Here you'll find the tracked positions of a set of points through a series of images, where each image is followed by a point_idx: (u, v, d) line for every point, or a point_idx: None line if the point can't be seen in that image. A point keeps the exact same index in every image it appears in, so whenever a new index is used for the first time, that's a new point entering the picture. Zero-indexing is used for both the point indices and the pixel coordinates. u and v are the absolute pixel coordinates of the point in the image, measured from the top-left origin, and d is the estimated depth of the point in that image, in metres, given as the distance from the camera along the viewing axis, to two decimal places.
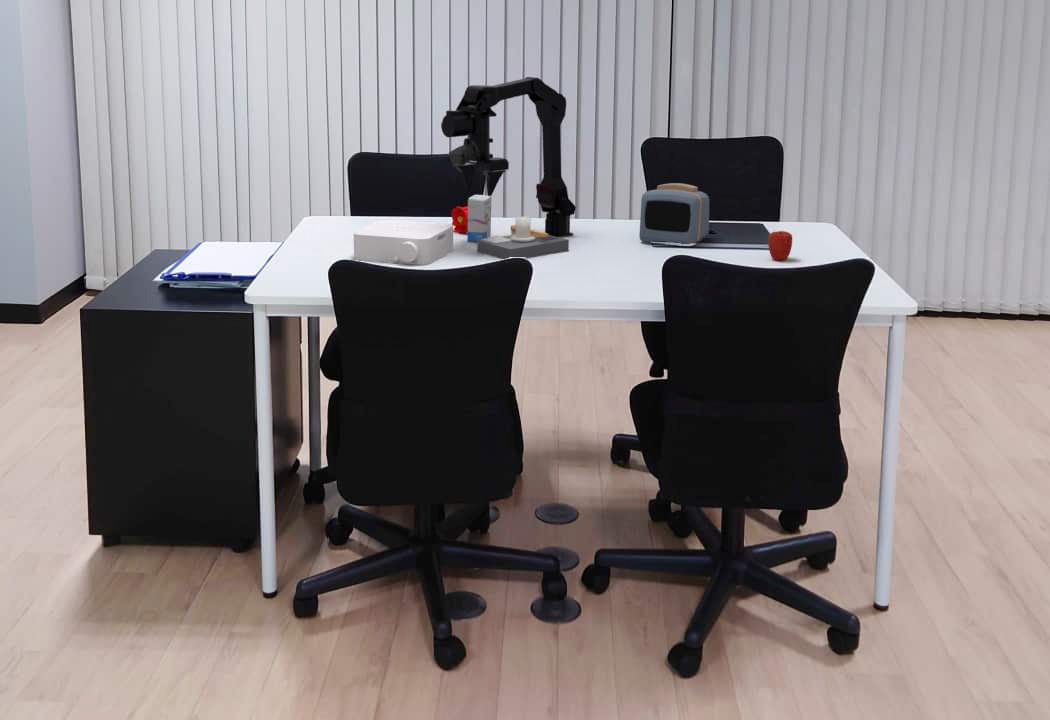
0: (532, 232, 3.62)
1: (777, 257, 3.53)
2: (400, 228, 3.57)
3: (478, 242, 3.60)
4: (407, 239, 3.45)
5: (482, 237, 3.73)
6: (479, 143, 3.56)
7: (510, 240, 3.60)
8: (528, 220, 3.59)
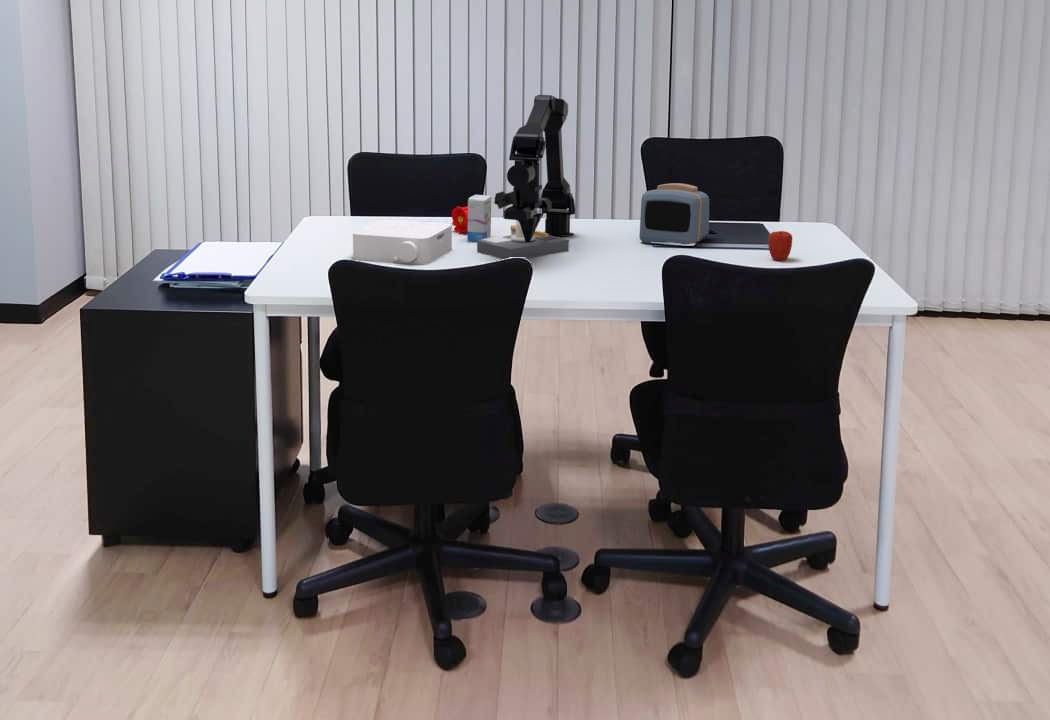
0: None
1: (777, 257, 3.53)
2: (399, 228, 3.58)
3: (478, 242, 3.60)
4: (407, 239, 3.46)
5: (482, 237, 3.73)
6: (518, 190, 3.46)
7: (510, 240, 3.60)
8: None
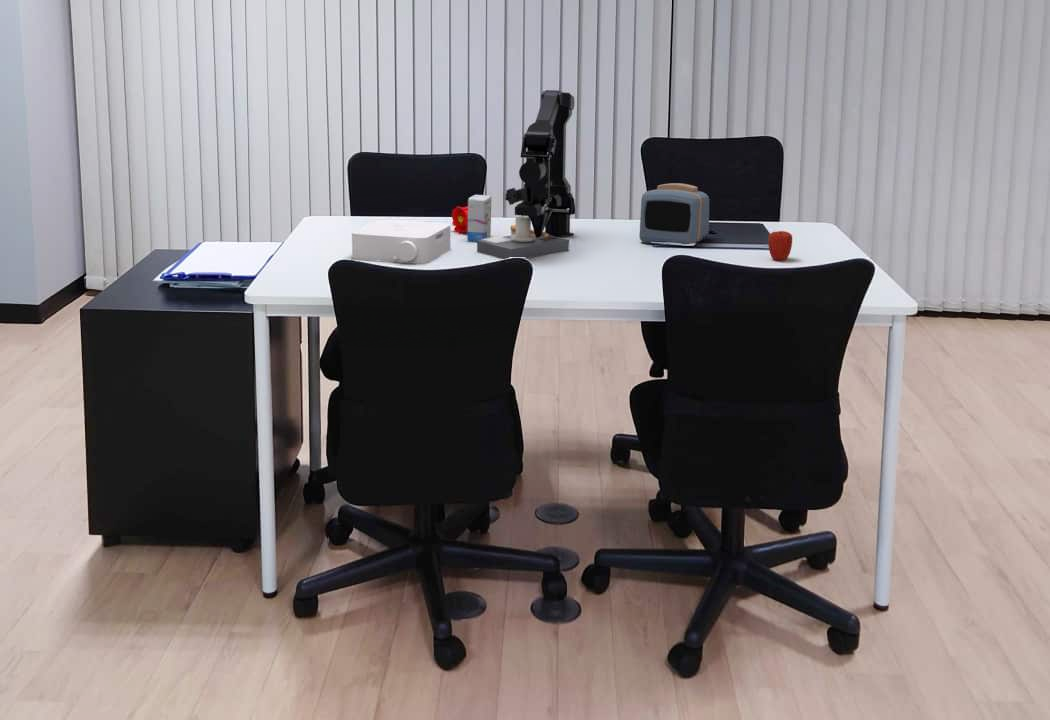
0: (532, 232, 3.62)
1: (777, 257, 3.53)
2: (398, 227, 3.58)
3: (478, 242, 3.60)
4: (406, 238, 3.46)
5: (482, 237, 3.73)
6: (529, 186, 3.54)
7: (510, 240, 3.60)
8: (528, 220, 3.59)
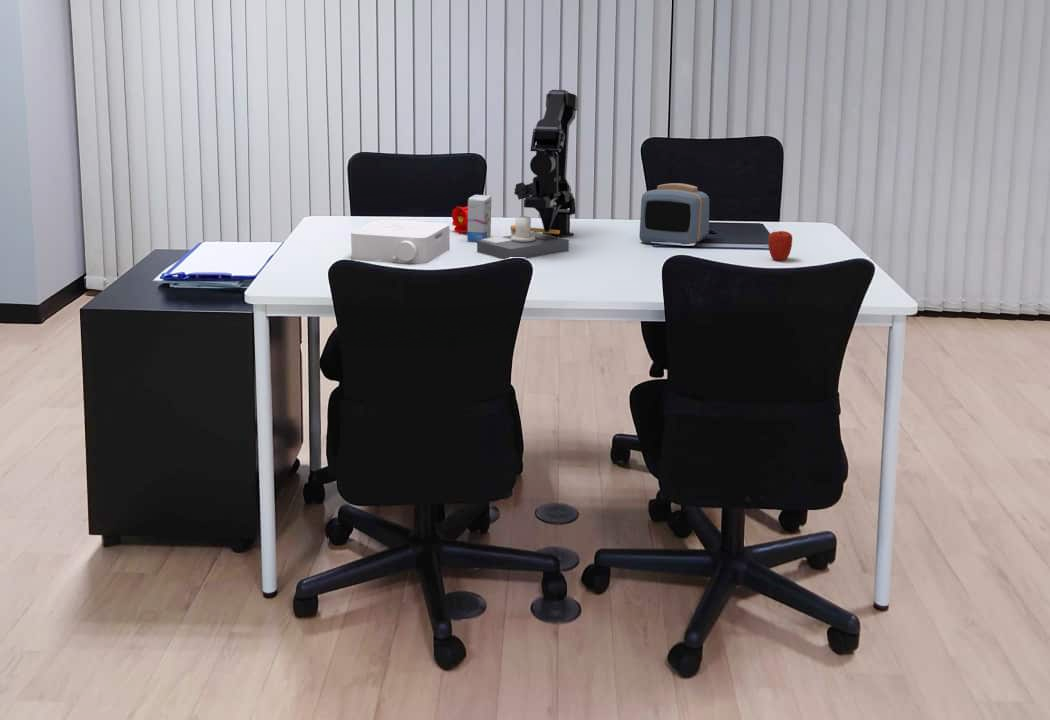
0: (540, 230, 3.64)
1: (777, 257, 3.53)
2: (397, 227, 3.59)
3: (478, 242, 3.60)
4: (405, 238, 3.46)
5: (482, 237, 3.73)
6: (538, 181, 3.59)
7: (510, 240, 3.60)
8: (528, 220, 3.59)
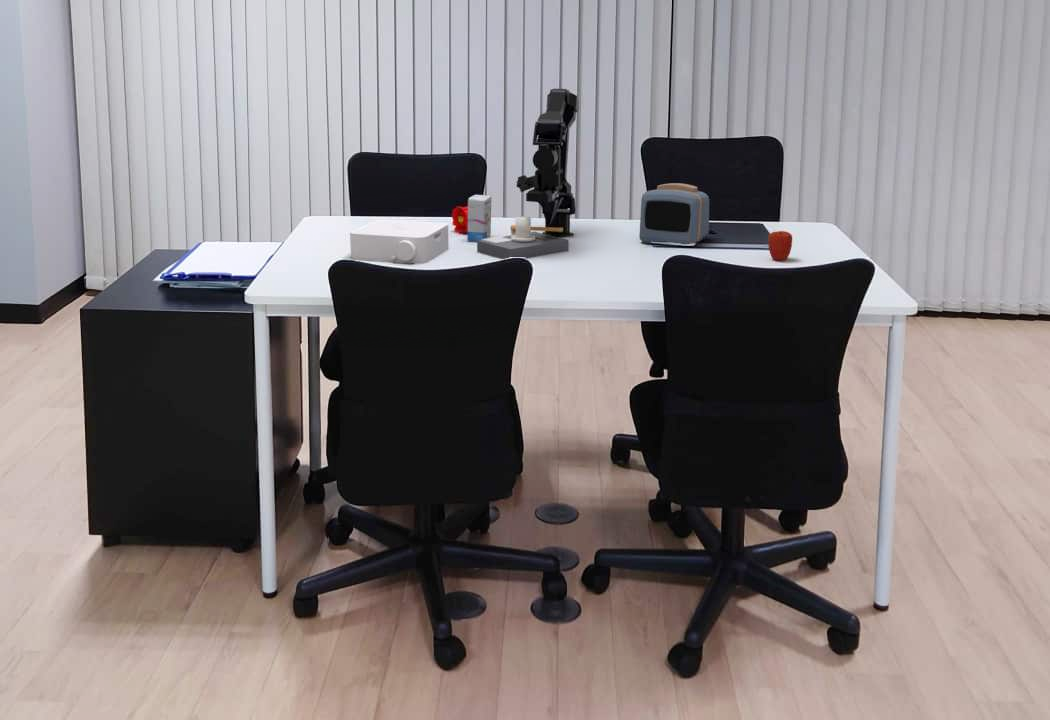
0: (543, 229, 3.66)
1: (777, 257, 3.53)
2: (396, 227, 3.59)
3: (478, 242, 3.60)
4: (404, 238, 3.47)
5: (482, 237, 3.73)
6: (540, 174, 3.60)
7: (510, 240, 3.60)
8: (528, 220, 3.59)
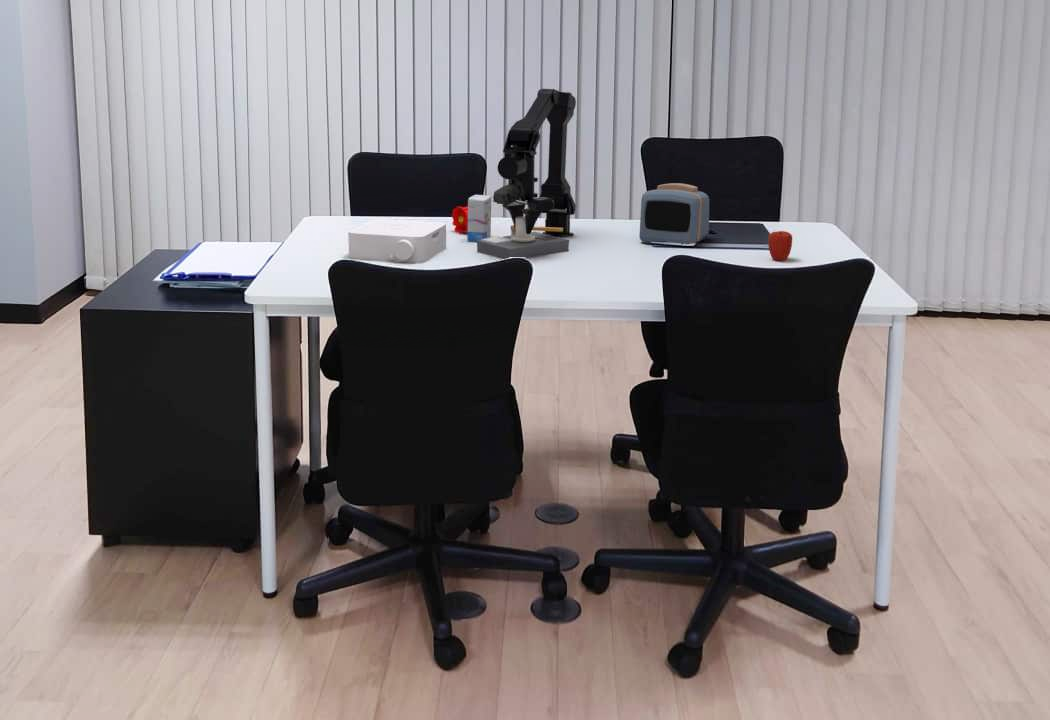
0: (544, 229, 3.66)
1: (777, 257, 3.53)
2: (394, 226, 3.59)
3: (478, 242, 3.60)
4: (402, 237, 3.47)
5: (482, 237, 3.73)
6: (524, 183, 3.55)
7: (510, 240, 3.60)
8: None
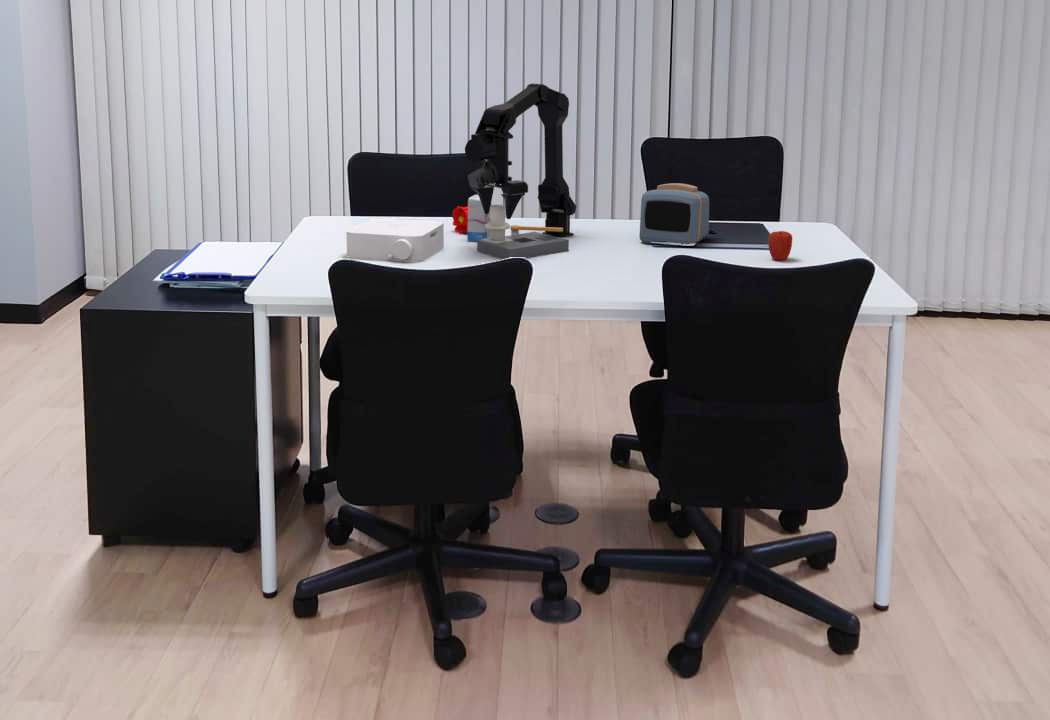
0: (544, 229, 3.66)
1: (777, 257, 3.53)
2: (392, 226, 3.60)
3: (478, 242, 3.60)
4: (401, 237, 3.48)
5: (482, 237, 3.73)
6: (498, 166, 3.53)
7: (510, 240, 3.60)
8: (503, 208, 3.58)
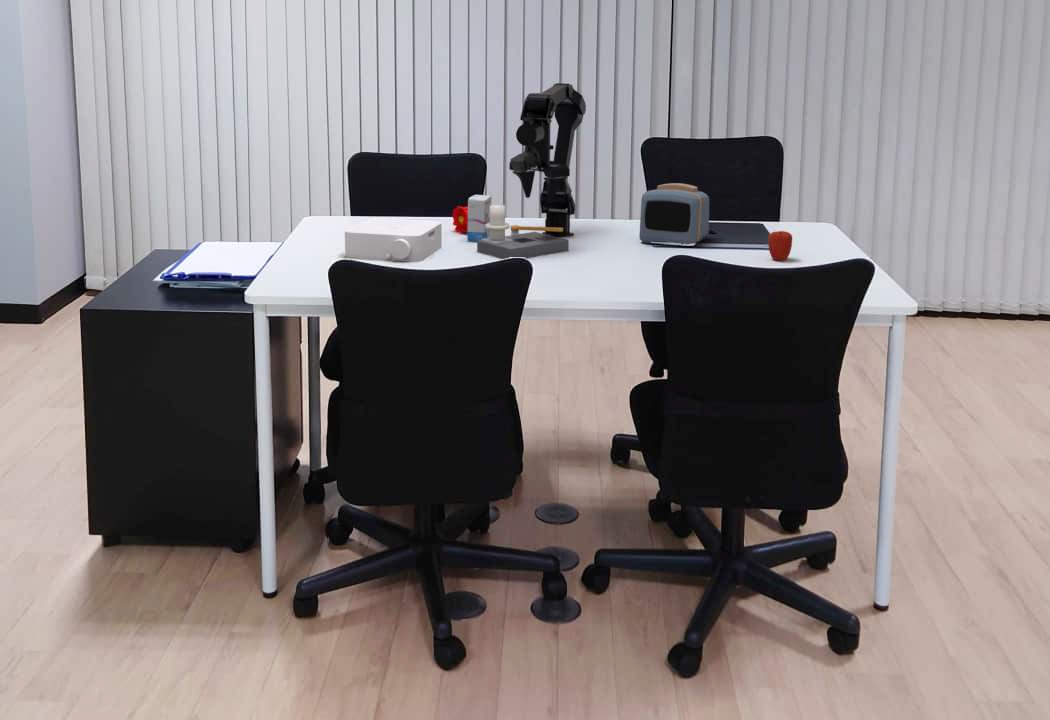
0: (544, 229, 3.66)
1: (777, 257, 3.53)
2: (390, 225, 3.61)
3: (478, 242, 3.60)
4: (399, 236, 3.49)
5: (482, 237, 3.73)
6: (540, 150, 3.60)
7: (510, 240, 3.60)
8: (502, 208, 3.58)
